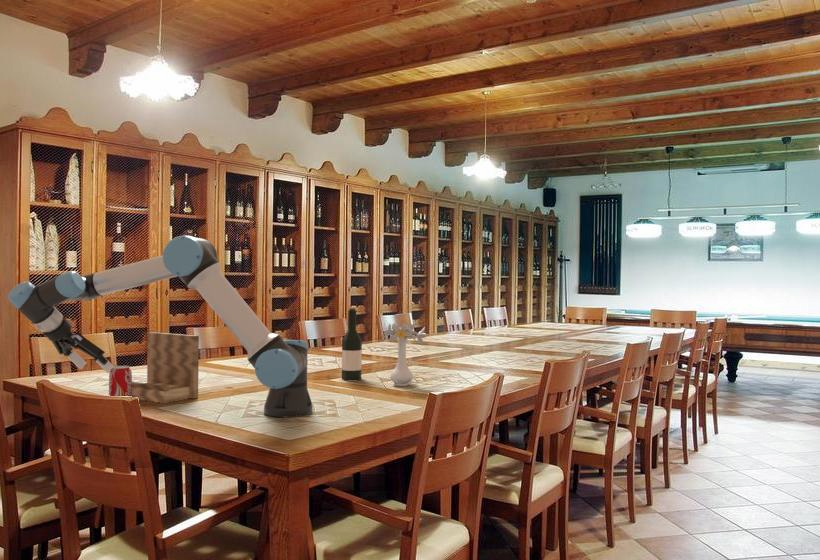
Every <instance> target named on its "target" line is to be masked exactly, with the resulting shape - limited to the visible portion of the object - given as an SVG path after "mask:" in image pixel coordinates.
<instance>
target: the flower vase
mask: <svg viewBox="0 0 820 560" xmlns="http://www.w3.org/2000/svg"><path fill="white" fill-rule="evenodd" d="M414 329H415V324H406V323H405V322H403V323H402V325H401V326H398V325H396V323H392V324H391V323H389V324H388V326H387V329H386V330H385V331H384V332H383V337H381V340H384V339H385V338H386V337H388V336H389V341H390V342H392V341H394V339H396V340H397V350H398V352H397V362H396V365H395V368H394V369H393V370H392V371H391V372H390V374H389V375H390V376H389V378H390V380H391V382H393V385H394V386H396V387H407V386H409V385H410V383H411V382H412V381H413V380H414V374H413V372H412V371H411V369H409V367H408V364H407V355H406V353H407V352H406V350H407V342H408V339H409V340H411V339H413V340H414V341H416V340H417V344H419V343H420V345H421V346H423V344H424V338H426V337H427V333H425V331H426V326H424V327H423V328H422V329H421V330H419V332H417V331H415V330H414ZM415 336H416V337H415Z"/></svg>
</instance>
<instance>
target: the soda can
mask: <svg viewBox="0 0 820 560" xmlns="http://www.w3.org/2000/svg"><path fill="white" fill-rule="evenodd" d="M130 367H131V366H130V365H113V368H112V369H111V370H110V371H109V373H108V374H109V375H108V396H109V395H110V396H132V382H133V376H132V374H133V373H132V369H131V368H130Z"/></svg>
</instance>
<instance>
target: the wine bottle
mask: <svg viewBox="0 0 820 560" xmlns="http://www.w3.org/2000/svg"><path fill="white" fill-rule="evenodd" d="M347 311H348V314H347V315H348V316H347V331H346V333H345V335H344V337H343V338H342V340H341V380H342V379H344V380H343V381H345V380H356V381H361V380H362V366H363V365H362V353H363V350H362V349H363V348H362V347H363V345H362V343H363V340H362V338H361V335H360V334H359V332H358V331H357V310H356V308H354V307H349V309H348V310H347ZM360 379H361V380H360Z"/></svg>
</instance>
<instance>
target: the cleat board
mask: <svg viewBox="0 0 820 560" xmlns="http://www.w3.org/2000/svg"><path fill="white" fill-rule="evenodd" d="M199 339H200V336H199V335H197V334H196V335H194V334H182V333H166V332H154V331H151V332H147V349H146V350H147V352H146V353H147V357H146V358H147V359H146V360H147V364H146V365H147V366H146V368H147V369H146V371H147V372H146V375H147V376H146V382H144V383H143V382H138V381H132V397H138V398H139V400H140V399H141V400H140V401H145V400H147V401H146V402H152V401H153V403H158V402H160V403H159V404H169V402H170V403H174V402H173V401H175V402H179V400H180V401H184V400H183V399H185V400H188V399H187V398H193V399H192V400H195V399H194V398H197V399H199V357H200V356H199V350H200V346H199V344H200V343H199V342H200V340H199Z"/></svg>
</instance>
